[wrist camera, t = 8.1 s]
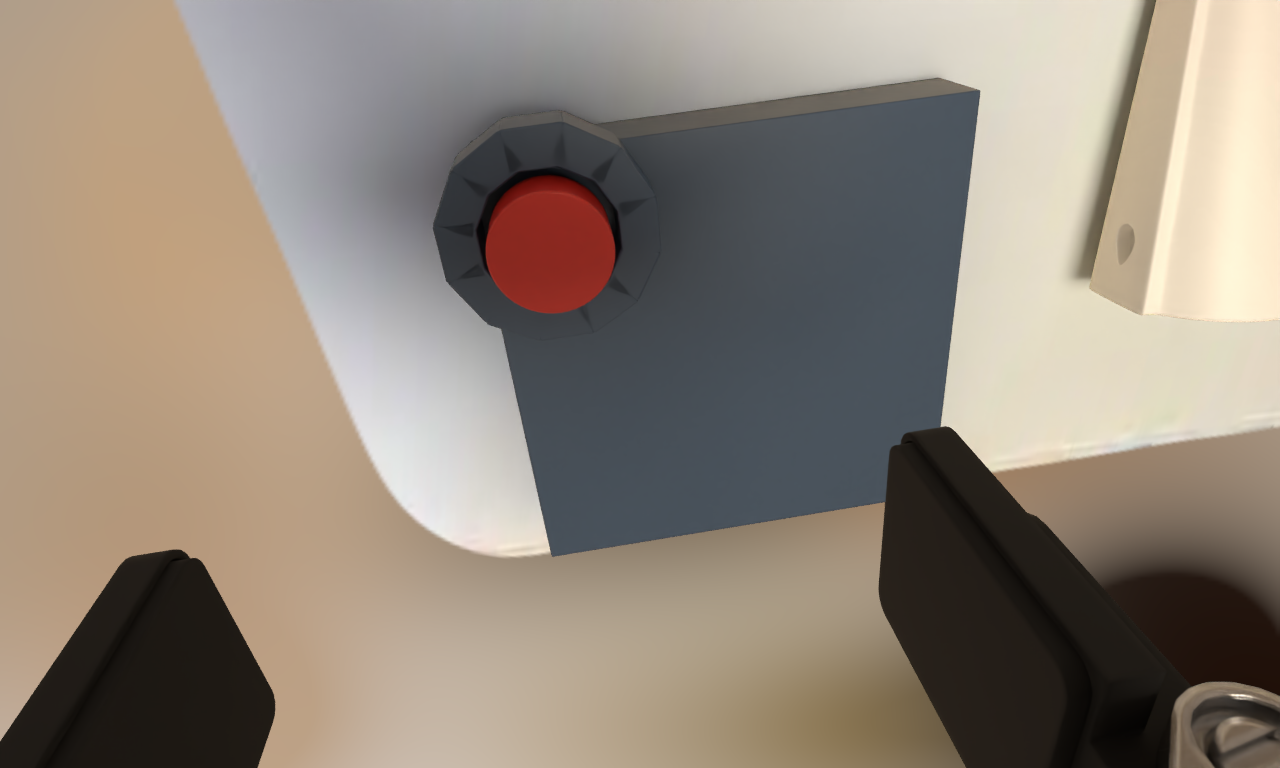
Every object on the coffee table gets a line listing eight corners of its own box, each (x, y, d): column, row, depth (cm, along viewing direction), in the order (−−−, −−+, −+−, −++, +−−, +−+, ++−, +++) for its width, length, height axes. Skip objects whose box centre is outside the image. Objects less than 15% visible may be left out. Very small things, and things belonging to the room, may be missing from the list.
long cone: (1396, -358, 22) (1228, 271, 30) (1181, -343, 22) (1069, 280, 30) (1630, -483, 17) (1354, 316, 25) (1350, -463, 17) (1162, 328, 25)
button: (501, 298, 23) (499, 322, 22) (476, 183, 21) (472, 200, 20) (616, 282, 23) (622, 304, 22) (602, 166, 22) (607, 182, 20)
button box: (526, 518, 33) (525, 594, 29) (430, 111, 24) (410, 141, 20) (905, 457, 34) (953, 523, 30) (943, 43, 25) (1019, 60, 21)
